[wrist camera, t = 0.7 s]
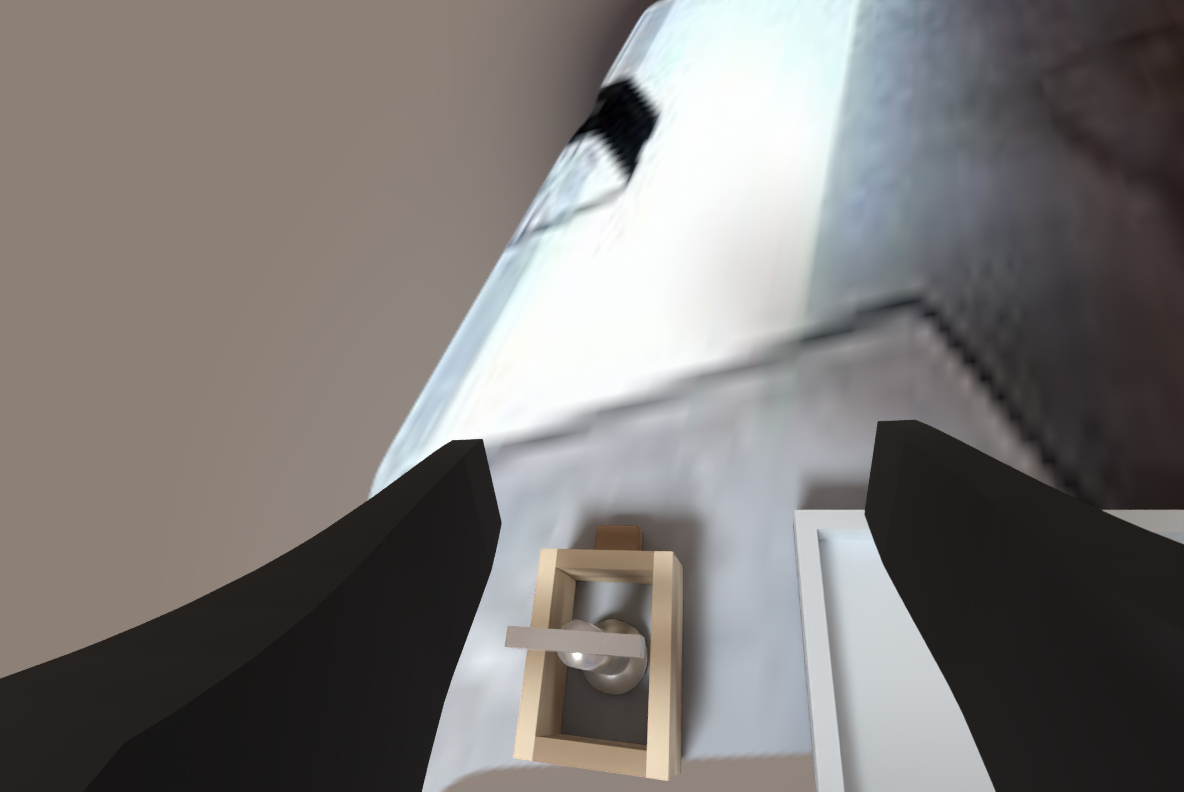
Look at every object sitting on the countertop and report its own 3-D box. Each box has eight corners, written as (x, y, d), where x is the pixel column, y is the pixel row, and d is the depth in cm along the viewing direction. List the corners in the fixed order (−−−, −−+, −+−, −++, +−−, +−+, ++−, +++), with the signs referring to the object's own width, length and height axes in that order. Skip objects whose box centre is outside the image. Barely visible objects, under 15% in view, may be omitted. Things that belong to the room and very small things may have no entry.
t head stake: (669, 700, 23) (637, 696, 18) (558, 688, 25) (499, 682, 19) (671, 624, 25) (641, 599, 19) (566, 617, 26) (512, 593, 21)
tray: (1577, 1207, 13) (1723, 1297, 11) (835, 1021, 18) (842, 1060, 16) (1248, 529, 20) (1299, 509, 18) (793, 525, 25) (794, 509, 23)
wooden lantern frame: (681, 773, 22) (668, 780, 19) (541, 753, 24) (512, 758, 21) (683, 533, 26) (673, 514, 24) (566, 531, 28) (545, 514, 26)
